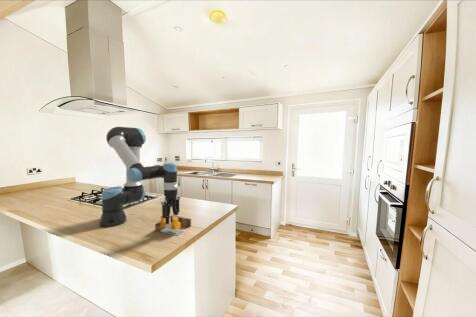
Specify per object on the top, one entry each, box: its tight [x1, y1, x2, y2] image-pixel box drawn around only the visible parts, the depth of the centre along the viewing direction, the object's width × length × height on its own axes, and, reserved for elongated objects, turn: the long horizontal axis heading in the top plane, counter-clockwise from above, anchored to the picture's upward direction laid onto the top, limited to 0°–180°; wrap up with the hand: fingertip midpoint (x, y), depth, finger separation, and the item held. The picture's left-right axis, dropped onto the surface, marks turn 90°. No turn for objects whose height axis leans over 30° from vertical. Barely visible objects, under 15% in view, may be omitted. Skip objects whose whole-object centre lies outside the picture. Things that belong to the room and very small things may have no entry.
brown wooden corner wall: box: [154, 215, 192, 233], centre depth 117 cm, size 15×15×5 cm
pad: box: [159, 228, 183, 236], centre depth 113 cm, size 13×5×1 cm, turn 68°
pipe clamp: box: [160, 215, 182, 230], centre depth 113 cm, size 12×4×6 cm, turn 63°
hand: (171, 226), depth 113 cm, fingers closed on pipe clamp, 5 cm apart
